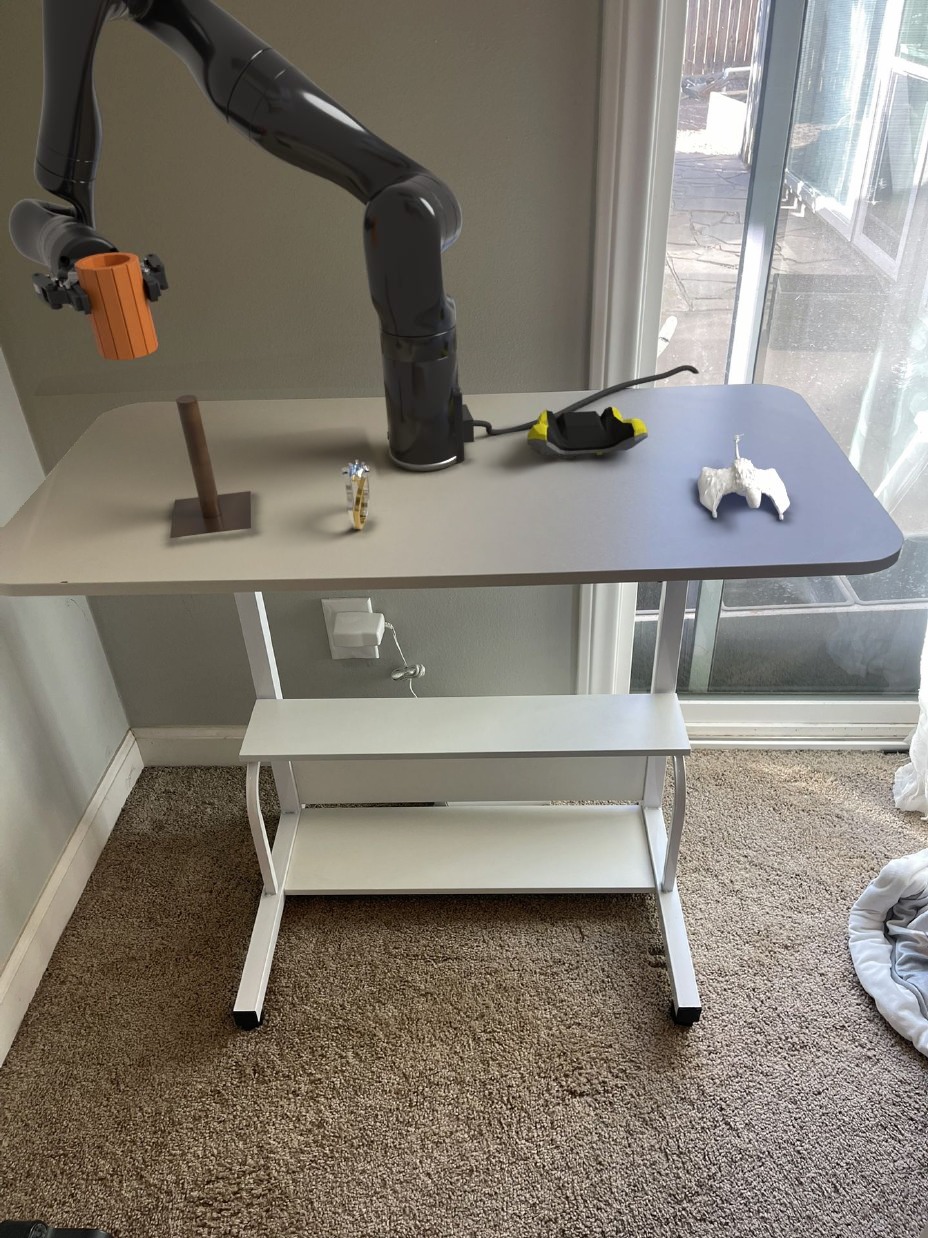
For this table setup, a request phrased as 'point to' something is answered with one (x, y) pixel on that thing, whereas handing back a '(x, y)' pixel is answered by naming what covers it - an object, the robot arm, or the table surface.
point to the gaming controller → (585, 433)
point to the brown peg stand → (205, 485)
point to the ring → (362, 495)
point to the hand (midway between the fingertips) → (120, 298)
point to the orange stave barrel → (117, 305)
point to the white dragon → (741, 484)
